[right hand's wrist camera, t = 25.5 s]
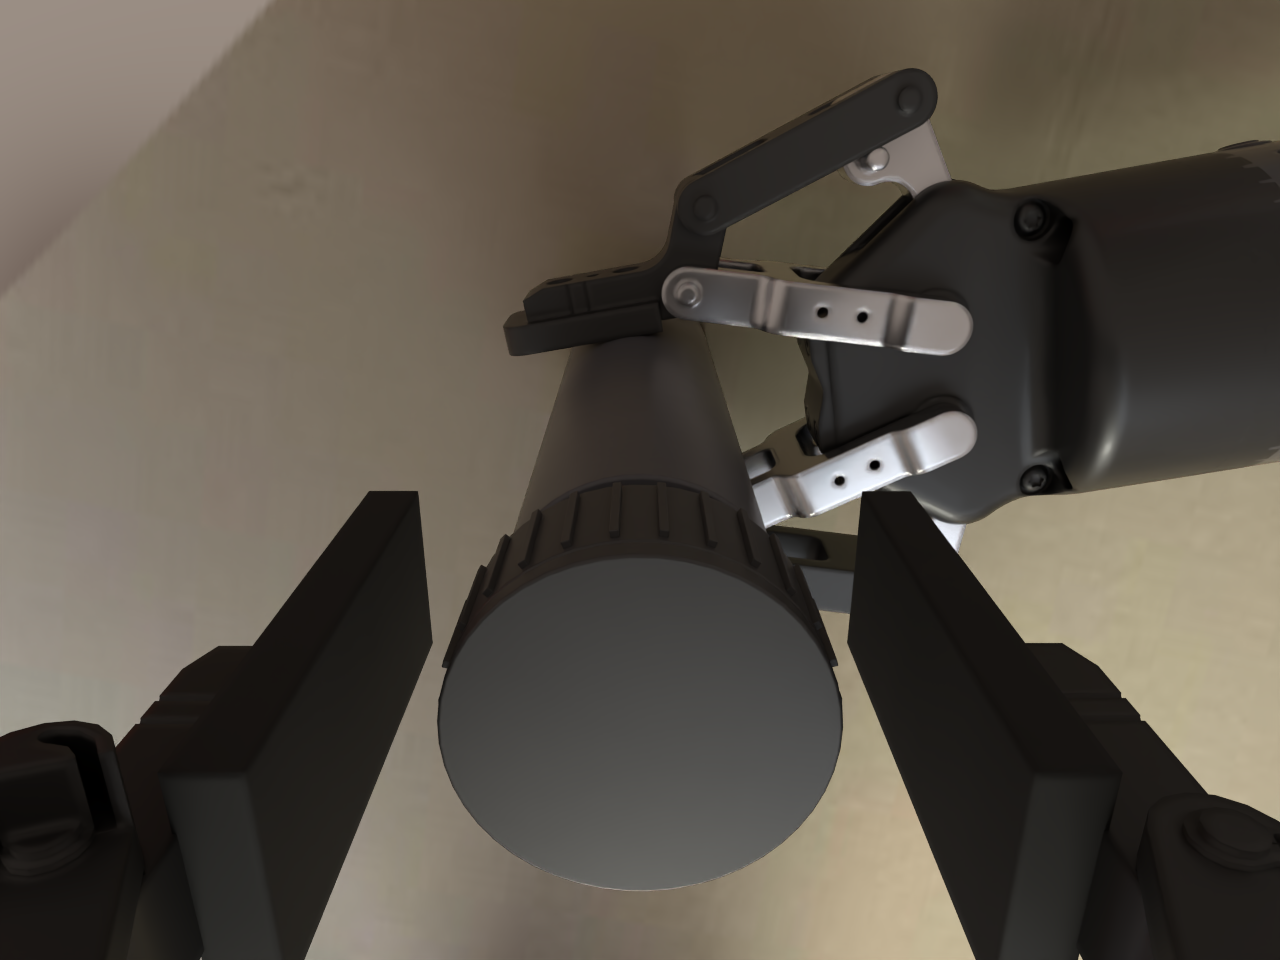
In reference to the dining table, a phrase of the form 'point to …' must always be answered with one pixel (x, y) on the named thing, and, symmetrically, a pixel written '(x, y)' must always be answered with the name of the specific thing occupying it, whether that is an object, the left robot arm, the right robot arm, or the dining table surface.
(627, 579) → the lid
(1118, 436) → the left robot arm
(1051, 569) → the dining table surface
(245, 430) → the dining table surface
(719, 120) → the dining table surface
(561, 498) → the gray bottle
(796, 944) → the dining table surface
